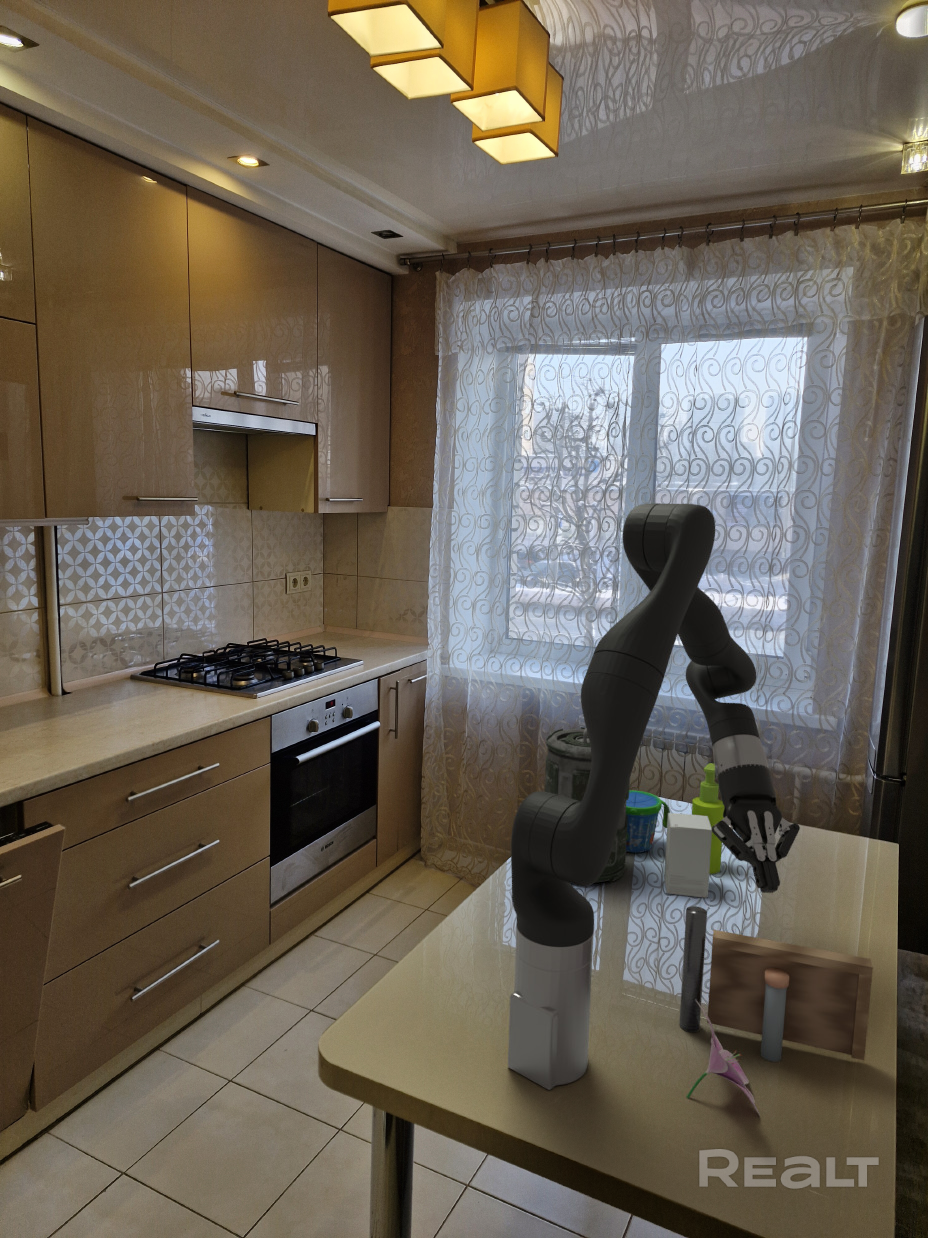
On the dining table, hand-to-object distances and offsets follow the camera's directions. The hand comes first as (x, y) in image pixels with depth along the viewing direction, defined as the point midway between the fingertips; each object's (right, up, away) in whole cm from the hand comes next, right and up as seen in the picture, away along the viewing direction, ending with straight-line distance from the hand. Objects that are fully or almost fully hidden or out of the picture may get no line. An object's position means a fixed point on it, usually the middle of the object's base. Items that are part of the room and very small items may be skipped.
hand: (770, 891), depth 110 cm
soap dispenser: (+5, -11, +45) cm, 47 cm away
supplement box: (-2, -12, +36) cm, 38 cm away
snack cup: (-7, -9, +54) cm, 56 cm away
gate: (-1, -16, -8) cm, 18 cm away
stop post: (-3, -17, -9) cm, 20 cm away
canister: (-19, -10, +43) cm, 49 cm away
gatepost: (-12, -16, -4) cm, 21 cm away
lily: (-12, -18, -17) cm, 28 cm away
